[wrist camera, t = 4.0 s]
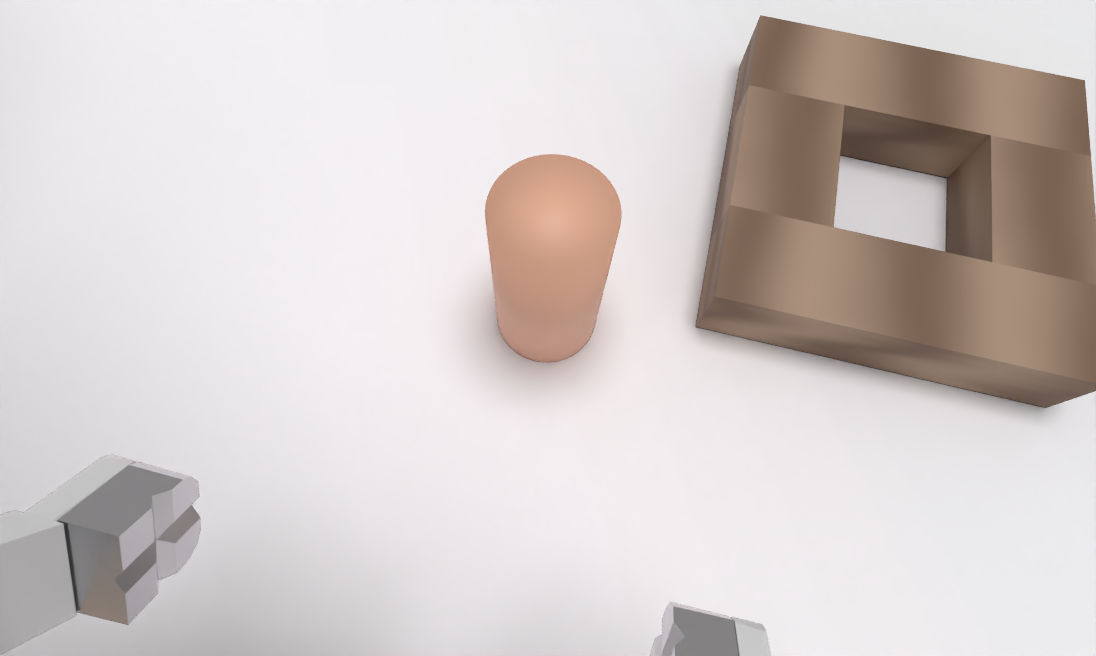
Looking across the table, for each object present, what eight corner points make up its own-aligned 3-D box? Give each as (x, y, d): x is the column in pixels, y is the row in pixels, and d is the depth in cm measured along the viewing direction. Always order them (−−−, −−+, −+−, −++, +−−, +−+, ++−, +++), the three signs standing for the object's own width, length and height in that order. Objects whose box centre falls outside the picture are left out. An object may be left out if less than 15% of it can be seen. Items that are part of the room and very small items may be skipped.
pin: (485, 349, 26) (468, 254, 19) (511, 262, 27) (504, 142, 20) (584, 372, 26) (606, 286, 18) (604, 283, 27) (633, 170, 20)
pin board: (695, 326, 27) (715, 296, 24) (739, 65, 32) (760, 15, 29) (1046, 407, 26) (1109, 386, 23) (1034, 126, 31) (1084, 80, 28)
